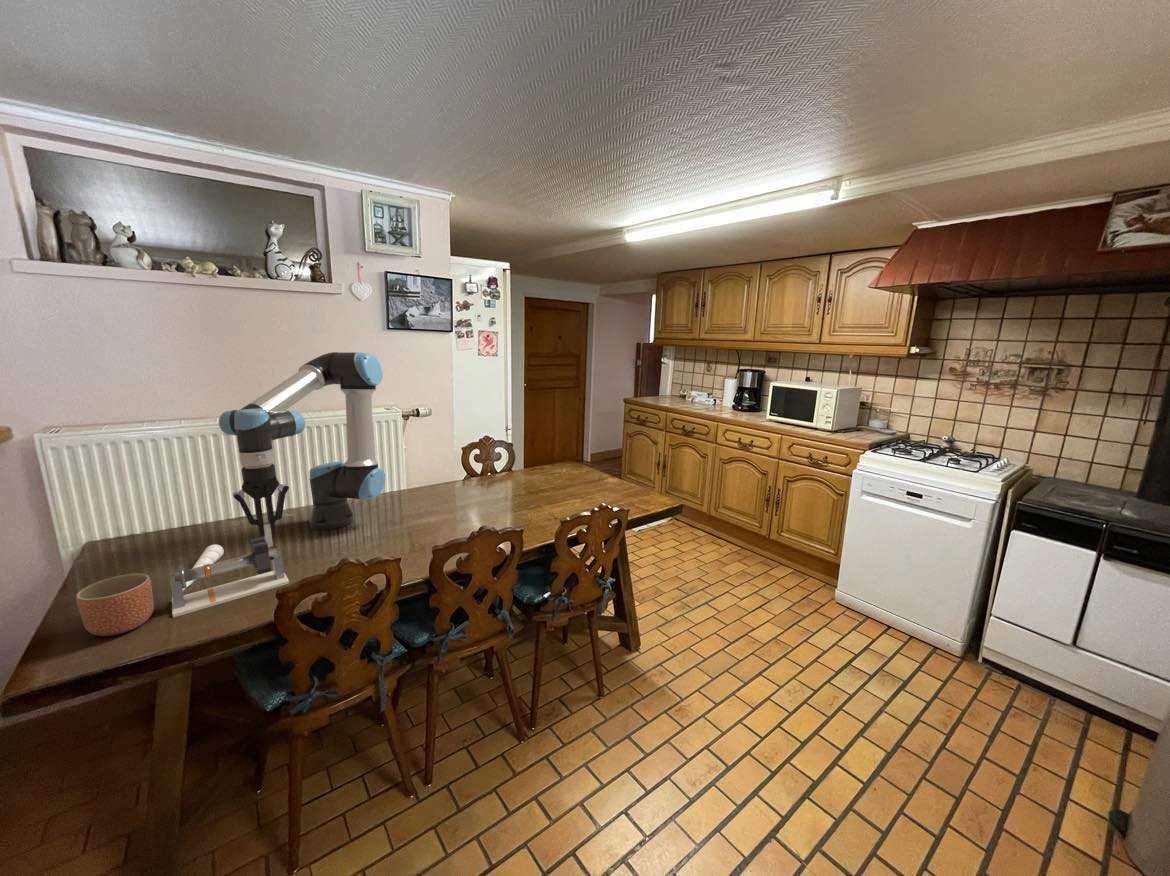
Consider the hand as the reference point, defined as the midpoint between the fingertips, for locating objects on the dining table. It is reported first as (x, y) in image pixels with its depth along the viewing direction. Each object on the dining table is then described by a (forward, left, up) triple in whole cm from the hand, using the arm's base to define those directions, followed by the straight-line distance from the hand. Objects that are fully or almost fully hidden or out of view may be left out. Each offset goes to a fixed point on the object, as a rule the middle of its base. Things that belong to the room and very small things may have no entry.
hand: (269, 545), depth 130 cm
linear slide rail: (0, -10, -11) cm, 15 cm away
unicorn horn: (-21, -15, -12) cm, 28 cm away
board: (0, -10, -11) cm, 15 cm away
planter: (+2, -31, -11) cm, 33 cm away
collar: (0, -2, -7) cm, 7 cm away
